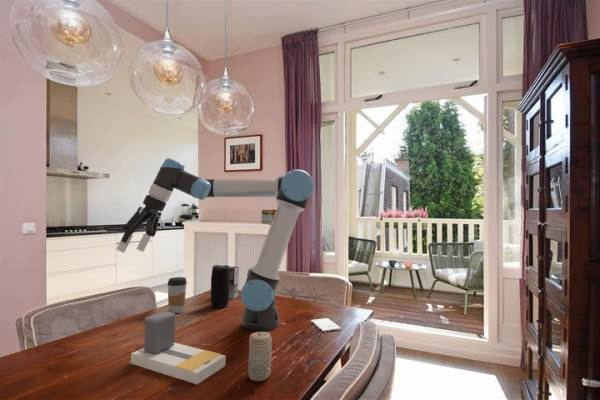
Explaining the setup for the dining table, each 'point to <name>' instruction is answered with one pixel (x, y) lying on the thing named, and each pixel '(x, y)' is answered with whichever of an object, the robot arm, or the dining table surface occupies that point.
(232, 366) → the dining table surface
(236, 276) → the coffee box
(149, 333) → the switch tab
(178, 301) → the coffee cup
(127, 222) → the robot arm
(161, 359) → the switch panel
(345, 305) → the dining table surface
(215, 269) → the portable speaker
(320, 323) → the external hard drive
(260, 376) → the carving
